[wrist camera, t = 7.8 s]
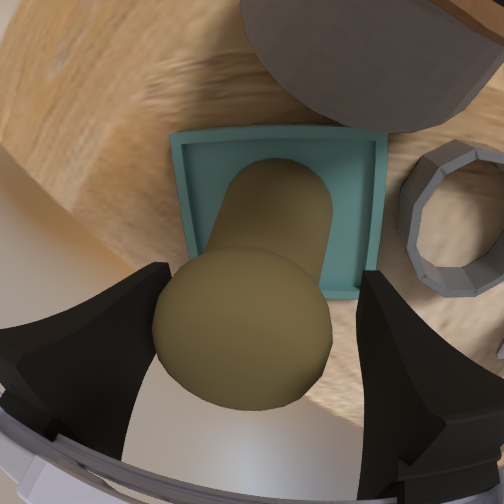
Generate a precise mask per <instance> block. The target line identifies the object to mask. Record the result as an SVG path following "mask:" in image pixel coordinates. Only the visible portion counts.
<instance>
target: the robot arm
mask: <svg viewBox="0 0 504 504" xmlns="http://www.w3.org/2000/svg"><path fill="white" fill-rule="evenodd" d="M171 279H172V276H171V272H170V268H169V264H168V263H166V262H153V263H151V264H149V265H147V266H145V267H143V268H142V269H140V270H138V271H137V272H135V273H133V274H132V275H130V276H129V277H127V278H125V279H123V280H122V281H120V282H118V283H117V284H115V285H114V286H112V287H110V288H108V289H107V290H105V291H103V292H101V293H100V294H98V295H96V296H94V297H93V298H91V299H89V300H87V301H85V302H83V303H81V304H79V305H77V306H75V307H72V308H70V309H68V310H66V311H63V312H61V313H58V314H55V315H53V316H50V317H48V318H45V319H42V320H39V321H35V322H32V323H28V324H24V325H20V326H16V327H11V328H5V329H0V383H1V384H2V385H3V387H4V388H5V389H6V390H5V391H4V393H3V394H2V393H1V392H0V468H1V469H2V470H3V471H4V472H5V473H6V474H7V475H8V476H10V477H11V478H12V479H13V480H14V481H15V482H16V483H17V484H18V487H17V493H18V496H19V497H20V498H22V499H23V500H24V501H25V502H26V503H28V504H148V503H145V502H142V501H139V500H137V499H134V498H131V497H129V496H127V495H124V494H122V493H120V492H118V491H116V490H115V489H114V488H112V487H111V486H109V485H108V484H107V483H106V482H105V481H104V480H103V479H101V478H99V477H97V476H96V475H94V474H97V475H99V476H101V477H103V478H105V479H108V480H110V481H112V482H115V483H117V484H119V485H122V486H124V487H127V488H129V489H132V490H134V491H137V492H140V493H143V494H145V495H148V496H151V497H154V498H157V499H160V500H163V501H167V502H170V503H173V504H504V467H502V468H500V469H498V466H497V461H499V460H500V459H501V456H502V455H501V451H500V447H501V446H502V445H503V444H504V379H503V378H501V377H499V376H497V375H495V374H493V373H492V372H490V371H488V370H487V369H485V368H483V367H482V366H480V365H478V364H477V363H475V362H474V361H472V360H471V359H469V358H468V357H466V356H465V355H463V354H462V353H461V352H459V351H458V350H457V349H455V348H454V347H453V346H451V345H450V344H449V343H448V342H446V341H445V340H444V339H443V338H442V337H441V336H439V335H438V334H437V333H436V332H435V331H434V330H433V329H431V328H430V327H429V326H428V325H427V324H426V323H425V322H424V321H423V320H422V319H421V318H420V317H419V316H418V315H417V314H416V313H415V312H414V310H413V309H412V308H411V307H410V306H409V305H408V304H407V303H406V302H405V300H404V299H403V298H402V297H401V296H400V295H399V293H398V292H397V291H396V290H395V289H394V287H393V286H392V285H391V284H390V283H389V281H388V280H387V279H386V278H385V276H384V275H383V274H382V273H381V272H380V271H379V270H363V272H362V279H361V286H360V293H359V299H358V305H357V311H356V336H357V345H358V352H359V359H360V366H361V373H362V381H363V389H364V436H363V451H362V463H361V472H360V480H359V487H358V494H357V500H356V501H306V500H290V499H278V498H268V497H260V496H252V495H245V494H239V493H233V492H228V491H222V490H217V489H212V488H208V487H203V486H199V485H195V484H191V483H186V482H183V481H179V480H175V479H172V478H168V477H165V476H162V475H158V474H155V473H152V472H149V471H146V470H143V469H140V468H137V467H134V466H132V465H129V464H126V463H124V462H121V458H122V452H123V447H124V441H125V437H126V433H127V429H128V425H129V421H130V417H131V414H132V410H133V407H134V404H135V401H136V398H137V395H138V392H139V390H140V387H141V384H142V381H143V379H144V376H145V374H146V372H147V370H148V367H149V366H150V364H151V362H152V360H153V358H154V356H155V355H156V353H157V352H156V349H155V345H154V340H153V334H152V324H153V318H154V313H155V309H156V305H157V301H158V297H159V295H160V294H161V292H162V291H163V289H164V288H165V287H166V285H167V284H168V282H169V281H170V280H171ZM497 357H498V359H504V343H503V345H502V346H501V348H500V350H499V352H498V354H497ZM87 470H88V471H90V472H92V473H94V474H92V473H90V472H88V471H87Z"/></svg>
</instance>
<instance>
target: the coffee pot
mask: <svg viewBox="0 0 504 504" xmlns="http://www.w3.org/2000/svg"><path fill="white" fill-rule="evenodd" d="M240 9H241V14H242V18H243V23H244V28H245V33H246V36H247V38H248V40H249V42H250V44H251V46H252V48H253V49H254V51H255V53H256V55H257V57H258V59H259V61H260V63H261V64H262V66H263V67H264V68H265V69H266V70H267V71H268V72H269V73H270V74H271V76H272V77H273V78H274V79H275V80H276V81H277V82H278V84H279V85H280V86H281V87H282V88H283V89H284V90H285V91H286V92H288V93H289V94H291V95H292V96H293V97H295V98H296V99H298V100H299V101H300V102H302V103H303V104H304V105H306V106H307V107H308V108H310V109H311V110H312V111H314V112H316V113H319V114H321V115H323V116H326V117H328V118H330V119H332V120H334V121H336V122H339V123H341V124H343V125H345V126H349V127H354V128H359V129H363V130H368V131H372V132H377V133H412V132H416V131H419V130H423V129H426V128H430V127H433V126H437V125H441V124H443V123H444V122H446V121H447V120H449V119H451V118H452V117H454V116H455V115H457V114H458V113H460V112H461V111H463V110H465V109H466V107H467V106H468V105H469V104H470V103H471V102H472V100H473V99H474V98H475V97H476V96H477V94H478V93H479V92H480V91H481V90H482V88H483V87H484V86H485V85H486V83H487V82H488V81H489V80H490V79H491V77H492V76H493V75H494V74H495V72H496V71H497V70H498V69H499V67H500V66H501V65H502V64H503V62H504V0H240Z"/></svg>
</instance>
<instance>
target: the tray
mask: <svg viewBox="0 0 504 504" xmlns="http://www.w3.org/2000/svg"><path fill="white" fill-rule="evenodd" d="M169 137H170V145H171V152H172V159H173V166H174V172H175V179H176V185H177V192H178V198H179V204H180V210H181V216H182V221H183V227H184V232H185V238H186V243H187V249H188V254H189V259H190V261H191V260H192V259H194V258H196V257H198V256H200V255H201V254H203V253H204V251H205V248H206V245H207V242H208V240H209V237H210V234H211V231H212V229H213V226H214V223H215V220H216V218H217V215H218V212H219V210H220V207H221V204H222V202H223V199H224V196H225V194H226V191H227V189H228V186H229V183H230V182H231V181H232V180H233V178H234V177H235V176H236V175H237V174H238V172H239V171H240V170H242V169H243V168H245V167H247V166H248V165H250V164H251V163H253V162H255V161H259V160H264V159H268V158H283V159H291V160H294V161H296V162H298V163H301V164H303V165H305V166H307V167H309V168H310V169H311V170H312V171H313V172H315V173H316V174H317V175H318V176H319V177H320V178H321V179H322V180H323V182H324V184H325V185H326V187H327V189H328V191H329V192H330V194H331V199H332V205H333V210H334V211H333V218H332V224H331V229H330V234H329V239H328V244H327V249H326V254H325V258H324V263H323V268H322V272H321V277H320V281H319V285H318V287H319V289H320V291H321V292H322V294H323V295H324V298H325V299H350V300H358V299H359V293H360V286H361V279H362V272H363V270H376V264H377V258H378V251H379V243H380V236H381V228H382V219H383V209H384V199H385V187H386V173H387V156H388V133H377V132H372V131H368V130H363V129H359V128H354V127H349V126H345V125H343V124H264V125H243V126H228V127H215V128H204V129H194V130H185V131H178V132H175V133H172V134H170V135H169Z"/></svg>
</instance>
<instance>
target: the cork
mask: <svg viewBox="0 0 504 504" xmlns="http://www.w3.org/2000/svg"><path fill="white" fill-rule="evenodd" d="M333 211H334V210H333V205H332V199H331V194H330V192H329V191H328V189H327V187H326V185H325V184H324V182H323V180H322V179H321V178H320V177H319V176H318V175H317V174H316V173H315V172H313V171H312V170H311V169H310V168H309V167H307V166H305V165H303V164H301V163H298V162H296V161H294V160H291V159H283V158H268V159H264V160H259V161H255V162H253V163H251V164H250V165H248V166H247V167H245V168H243V169H242V170H240V171H239V172H238V174H237V175H236V176H235V177H234V178H233V180H232V181H231V182H230V183H229V186H228V189H227V191H226V194H225V196H224V199H223V202H222V204H221V207H220V210H219V212H218V215H217V218H216V220H215V223H214V226H213V229H212V231H211V234H210V237H209V240H208V242H207V245H206V248H205V251H204V253H203V254H201V255H200V256H198V257H196V258H194V259H192V260H191V261H189V262H188V263H186V264H185V265H183V266H182V267H180V268H179V270H178V271H177V272H176V273H175V275H174V276H173V277H172V279H171V280H170V281H169V282H168V284H167V285H166V287H165V288H164V289H163V291H162V292H161V294H160V295H159V297H158V301H157V305H156V309H155V313H154V318H153V324H152V334H153V340H154V345H155V349H156V352H157V356H158V359H159V361H160V362H161V364H162V365H163V367H164V368H165V370H166V371H167V373H168V374H169V375H170V376H171V377H172V378H173V379H174V380H175V381H177V382H178V383H179V384H180V385H181V386H182V387H183V388H185V389H186V390H187V391H189V392H191V393H192V394H194V395H196V396H198V397H199V398H201V399H202V400H205V401H207V402H210V403H213V404H215V405H218V406H221V407H225V408H230V409H236V410H243V411H244V410H245V411H248V410H249V411H262V410H269V409H274V408H279V407H284V406H286V405H288V404H290V403H292V402H294V401H296V400H298V399H300V398H301V397H302V396H303V395H304V394H305V393H306V392H307V391H308V390H309V389H310V388H311V387H312V386H313V385H314V384H315V383H316V382H317V381H318V379H319V378H320V377H321V376H322V374H323V371H324V368H325V366H326V363H327V360H328V357H329V353H330V350H331V347H332V344H333V338H332V324H331V318H330V312H329V307H328V304H327V302H326V300H325V298H324V295H323V294H322V292H321V291H320V289H319V287H318V285H319V281H320V277H321V272H322V268H323V263H324V258H325V254H326V249H327V244H328V239H329V234H330V229H331V224H332V218H333Z"/></svg>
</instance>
